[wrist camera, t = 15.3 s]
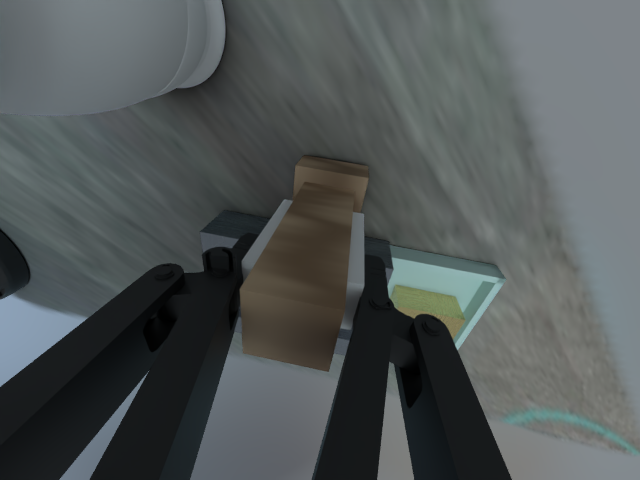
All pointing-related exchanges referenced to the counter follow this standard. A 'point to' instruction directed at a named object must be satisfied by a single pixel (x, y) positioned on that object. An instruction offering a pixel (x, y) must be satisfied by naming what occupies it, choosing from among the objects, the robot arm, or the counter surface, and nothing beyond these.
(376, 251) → the slot board
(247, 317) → the stepped wooden block
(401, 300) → the chip
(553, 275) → the counter surface
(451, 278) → the tray
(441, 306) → the yellow sponge cube
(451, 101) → the counter surface
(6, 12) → the jar
